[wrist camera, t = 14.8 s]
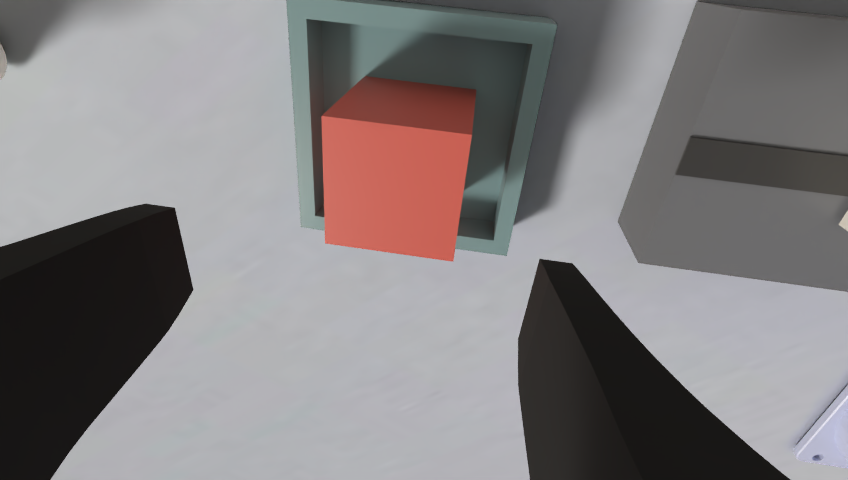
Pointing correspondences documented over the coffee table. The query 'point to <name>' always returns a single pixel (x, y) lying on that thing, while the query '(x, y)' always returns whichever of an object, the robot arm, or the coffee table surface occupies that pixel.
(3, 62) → the lightbulb
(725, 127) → the grey flat block
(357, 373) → the coffee table surface
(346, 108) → the block
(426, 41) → the tray
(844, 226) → the switch
